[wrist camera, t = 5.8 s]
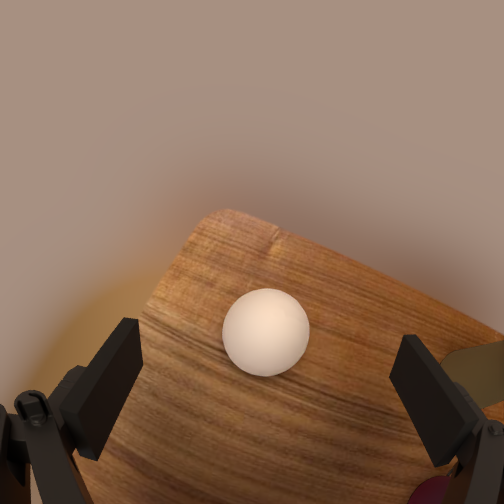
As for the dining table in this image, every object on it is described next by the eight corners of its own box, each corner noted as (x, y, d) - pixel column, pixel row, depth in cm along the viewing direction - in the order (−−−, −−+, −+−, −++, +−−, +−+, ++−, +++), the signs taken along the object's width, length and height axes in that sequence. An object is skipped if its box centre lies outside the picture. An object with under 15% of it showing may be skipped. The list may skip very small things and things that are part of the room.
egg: (240, 300, 24) (241, 253, 17) (306, 324, 23) (334, 286, 17) (213, 365, 22) (202, 343, 15) (283, 390, 21) (306, 381, 14)
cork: (471, 423, 19) (566, 408, 9) (425, 403, 20) (524, 382, 11) (489, 363, 22) (575, 326, 12) (446, 339, 23) (535, 291, 13)
